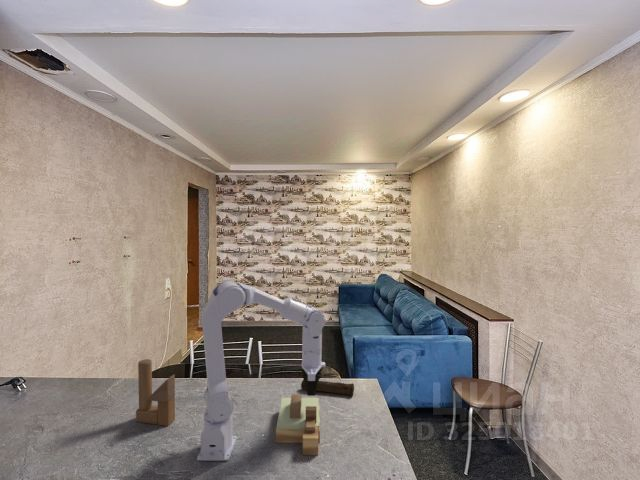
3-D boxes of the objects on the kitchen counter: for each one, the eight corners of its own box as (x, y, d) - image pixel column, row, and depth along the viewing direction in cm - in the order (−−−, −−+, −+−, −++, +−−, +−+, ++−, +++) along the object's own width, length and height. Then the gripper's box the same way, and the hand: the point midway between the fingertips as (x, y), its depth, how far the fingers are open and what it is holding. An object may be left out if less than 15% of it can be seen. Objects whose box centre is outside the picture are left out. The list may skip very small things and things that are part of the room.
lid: (319, 429, 95) (319, 415, 95) (276, 429, 95) (276, 415, 95) (318, 400, 111) (318, 388, 110) (281, 400, 110) (282, 388, 110)
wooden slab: (320, 455, 90) (320, 438, 90) (273, 454, 90) (273, 438, 90) (319, 410, 111) (319, 397, 111) (281, 410, 111) (281, 396, 111)
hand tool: (354, 392, 124) (354, 380, 124) (353, 398, 120) (353, 385, 120) (303, 386, 128) (303, 374, 128) (300, 391, 124) (300, 378, 124)
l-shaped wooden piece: (316, 431, 92) (316, 418, 92) (305, 431, 92) (305, 418, 92) (316, 418, 98) (316, 406, 98) (305, 418, 98) (305, 406, 98)
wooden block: (168, 426, 101) (167, 366, 100) (135, 422, 104) (134, 363, 103) (175, 419, 105) (175, 361, 104) (144, 415, 107) (143, 358, 106)
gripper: (326, 358, 95) (325, 406, 96) (324, 340, 110) (324, 382, 110) (300, 358, 95) (300, 406, 96) (302, 340, 110) (301, 382, 110)
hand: (311, 393), depth 103 cm, fingers closed
